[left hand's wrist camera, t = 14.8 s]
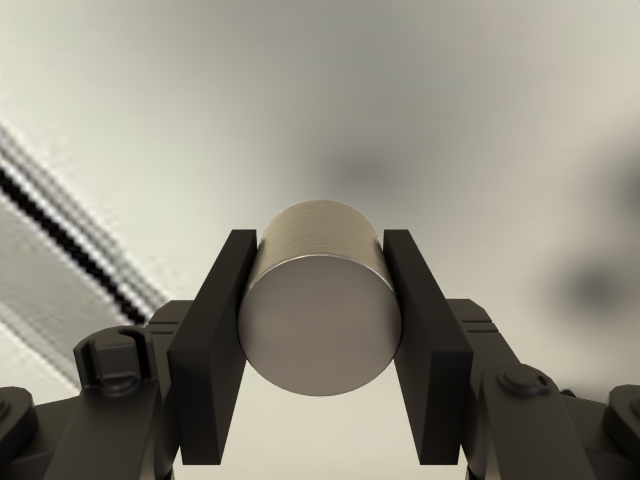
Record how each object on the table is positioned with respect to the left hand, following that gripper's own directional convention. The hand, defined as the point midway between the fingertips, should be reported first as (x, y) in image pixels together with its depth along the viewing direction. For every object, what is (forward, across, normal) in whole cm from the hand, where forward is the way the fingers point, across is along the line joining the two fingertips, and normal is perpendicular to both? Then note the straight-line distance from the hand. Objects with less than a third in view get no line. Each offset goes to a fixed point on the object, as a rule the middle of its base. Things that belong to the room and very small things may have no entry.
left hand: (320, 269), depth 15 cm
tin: (0, 0, 0) cm, 0 cm away
